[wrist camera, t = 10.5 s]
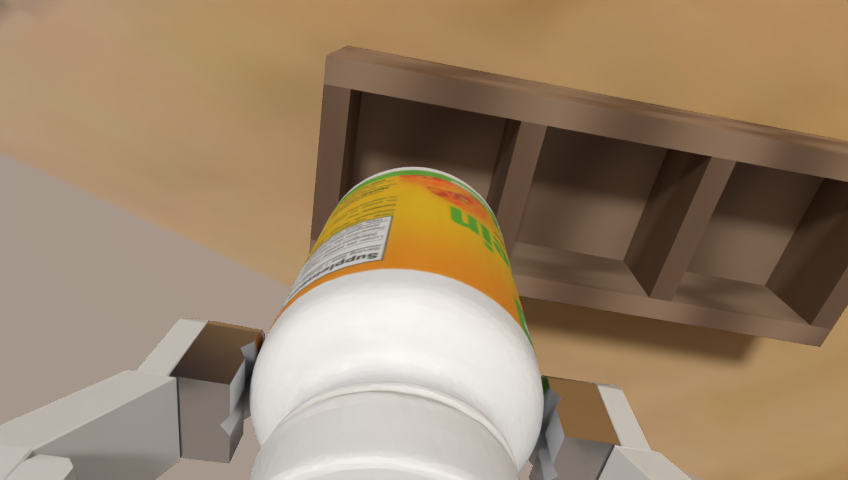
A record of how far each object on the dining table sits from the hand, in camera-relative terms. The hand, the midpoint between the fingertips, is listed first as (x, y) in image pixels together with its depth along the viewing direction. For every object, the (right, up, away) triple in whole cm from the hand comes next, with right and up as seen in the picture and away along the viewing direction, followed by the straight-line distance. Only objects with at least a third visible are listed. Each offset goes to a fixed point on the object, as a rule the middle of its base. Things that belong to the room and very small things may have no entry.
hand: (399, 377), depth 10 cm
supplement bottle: (0, +3, +6) cm, 6 cm away
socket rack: (+8, +6, +15) cm, 17 cm away
